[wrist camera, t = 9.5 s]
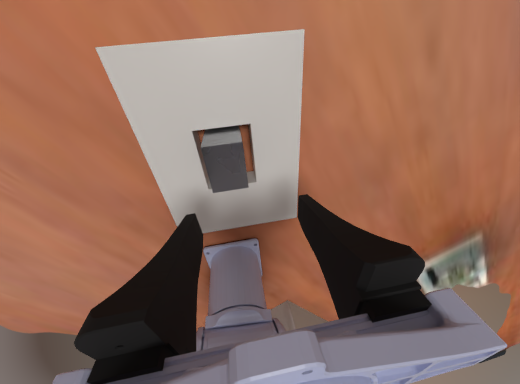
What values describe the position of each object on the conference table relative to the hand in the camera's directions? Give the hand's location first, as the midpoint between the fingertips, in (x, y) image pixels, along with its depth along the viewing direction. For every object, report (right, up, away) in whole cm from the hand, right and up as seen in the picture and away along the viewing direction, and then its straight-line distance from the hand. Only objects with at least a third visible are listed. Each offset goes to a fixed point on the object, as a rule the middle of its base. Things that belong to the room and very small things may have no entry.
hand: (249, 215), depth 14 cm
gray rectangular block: (-3, +7, +6) cm, 10 cm away
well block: (-3, +6, +7) cm, 9 cm away
